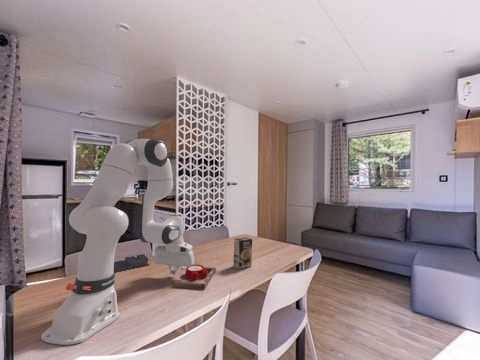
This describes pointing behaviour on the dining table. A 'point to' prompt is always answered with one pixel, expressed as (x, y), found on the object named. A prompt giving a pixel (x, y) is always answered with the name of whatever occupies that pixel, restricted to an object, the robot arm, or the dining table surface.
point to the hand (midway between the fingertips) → (173, 273)
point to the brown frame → (197, 285)
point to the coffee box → (242, 252)
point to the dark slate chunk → (131, 263)
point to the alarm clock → (196, 272)
